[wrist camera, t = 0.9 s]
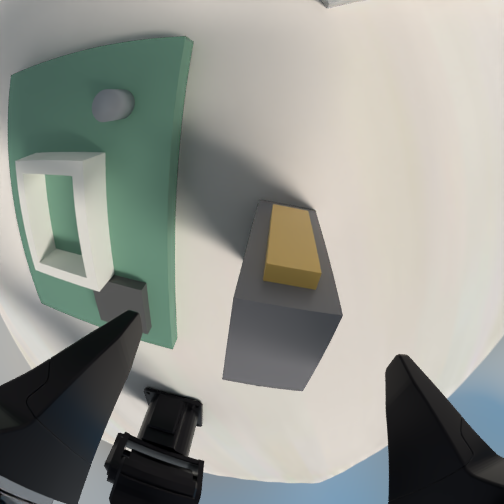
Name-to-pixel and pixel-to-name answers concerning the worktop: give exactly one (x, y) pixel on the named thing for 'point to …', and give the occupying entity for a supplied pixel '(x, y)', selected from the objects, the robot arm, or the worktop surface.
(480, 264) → the worktop surface
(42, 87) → the board
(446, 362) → the worktop surface
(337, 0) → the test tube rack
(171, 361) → the worktop surface
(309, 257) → the plug
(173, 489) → the robot arm
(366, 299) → the worktop surface
